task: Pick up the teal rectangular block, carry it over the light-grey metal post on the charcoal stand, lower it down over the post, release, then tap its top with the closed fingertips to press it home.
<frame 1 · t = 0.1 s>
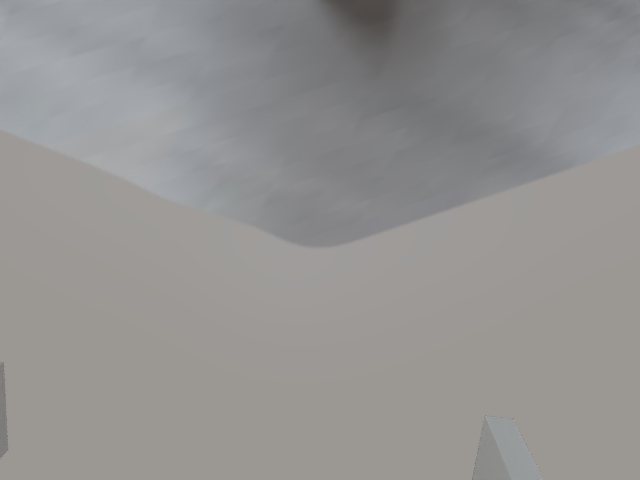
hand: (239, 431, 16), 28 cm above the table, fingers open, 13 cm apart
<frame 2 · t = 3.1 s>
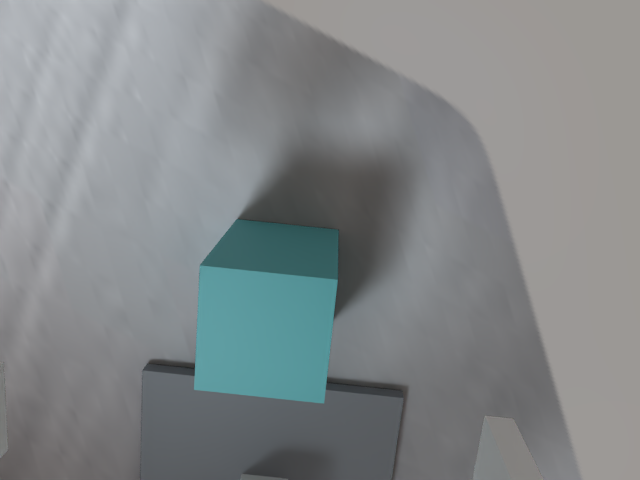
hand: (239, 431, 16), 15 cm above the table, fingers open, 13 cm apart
teal rectangular block: (283, 272, 30), on the table
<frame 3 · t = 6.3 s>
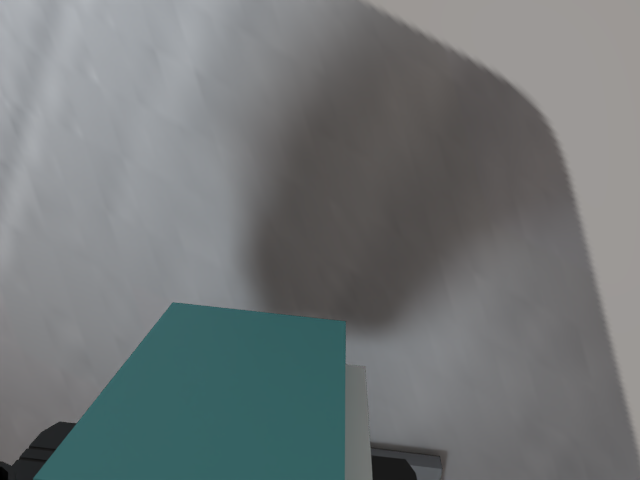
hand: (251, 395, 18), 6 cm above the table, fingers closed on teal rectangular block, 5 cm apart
teal rectangular block: (253, 389, 18), point 6 cm above the table, touching gripper
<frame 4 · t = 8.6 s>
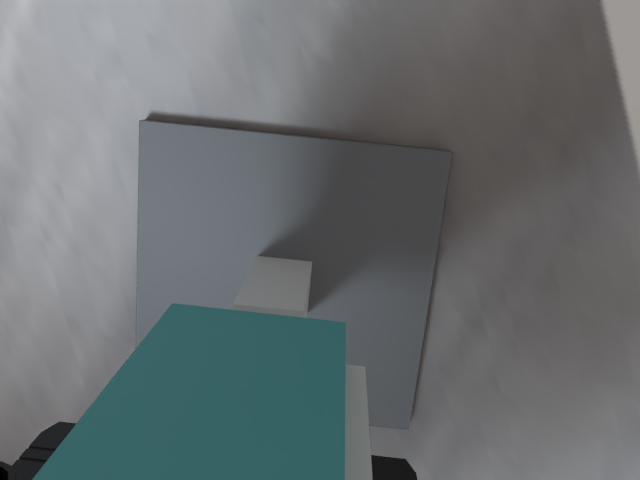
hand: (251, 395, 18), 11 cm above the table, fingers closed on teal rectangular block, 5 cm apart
teal rectangular block: (252, 390, 18), point 11 cm above the table, touching gripper
stand: (284, 279, 28), on the table
when the fingers open (1 cm above the table, at t = 10.9 s): teal rectangular block stays where it is, resting on stand.
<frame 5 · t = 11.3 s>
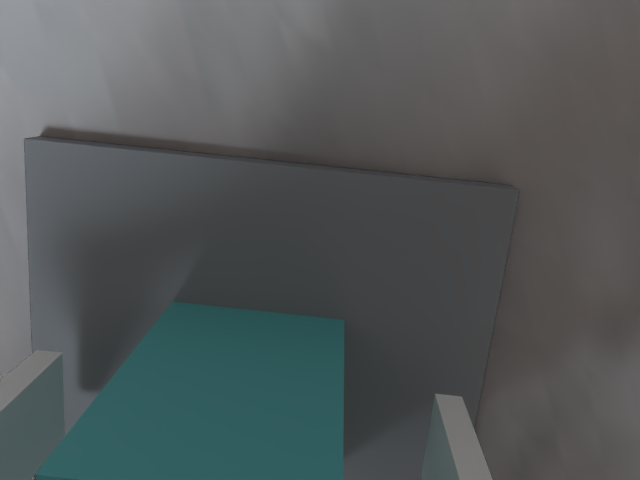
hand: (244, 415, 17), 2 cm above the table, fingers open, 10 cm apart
teal rectangular block: (252, 387, 18), point 1 cm above the table, touching stand
stand: (257, 374, 19), on the table
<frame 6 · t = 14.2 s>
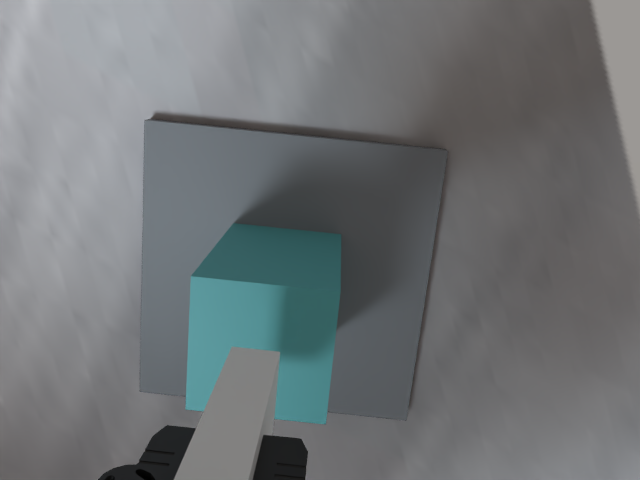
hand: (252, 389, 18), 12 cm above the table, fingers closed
teal rectangular block: (282, 279, 28), point 1 cm above the table, touching stand
stand: (285, 274, 29), on the table
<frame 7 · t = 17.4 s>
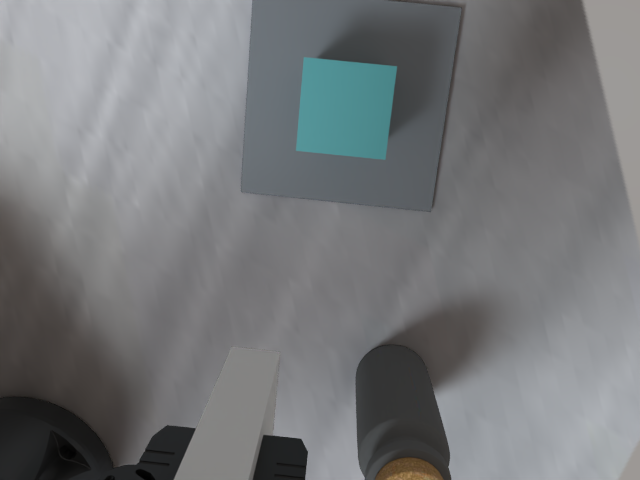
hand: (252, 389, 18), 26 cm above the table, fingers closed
bottle: (391, 375, 47), on the table
teal rectangular block: (345, 104, 41), point 1 cm above the table, touching stand
stand: (345, 103, 41), on the table
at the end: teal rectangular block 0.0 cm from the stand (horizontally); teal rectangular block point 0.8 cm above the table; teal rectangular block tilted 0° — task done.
